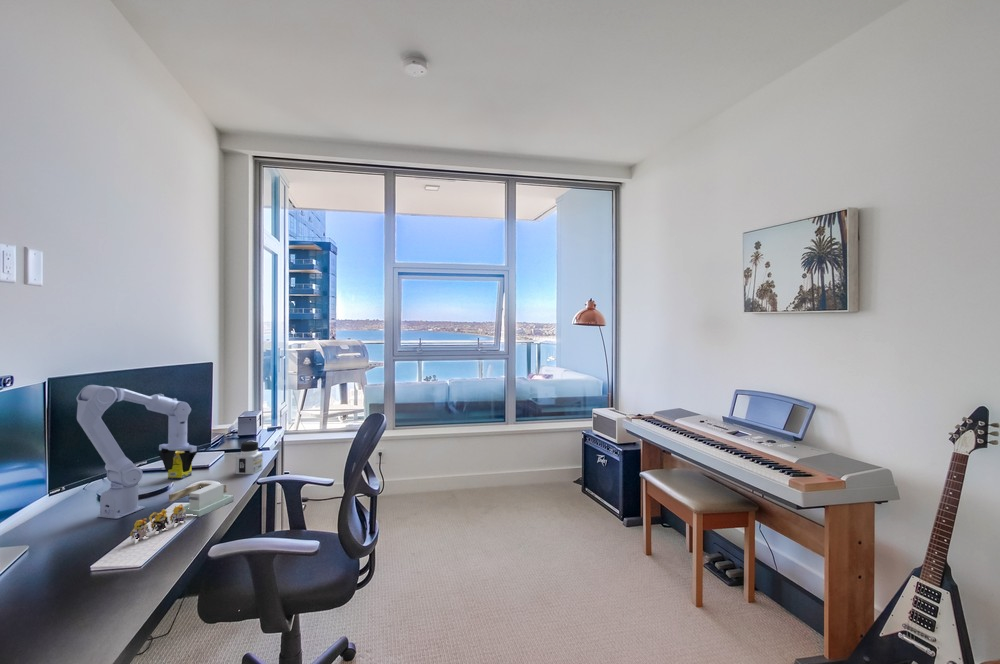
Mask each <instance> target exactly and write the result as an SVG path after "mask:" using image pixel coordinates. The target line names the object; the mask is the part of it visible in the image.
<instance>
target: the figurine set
mask: <svg viewBox="0 0 1000 664" xmlns="http://www.w3.org/2000/svg"><path fill="white" fill-rule="evenodd" d="M182 506H184V504H180V505H177V506H176V505H175V506H174V508H173V509H172V513H171V515H170V516H169V517H168V516H167V510H166V509H165V508H163V509H161V511H160V512H156V511H154V512H152V514H150V515H149V517H148V520H149V522H150V523H151V524H150V528H151V531H150V528H149V524H148V522H147V518H143V519H139V520H136V521H135V523H134V525H133V526H134V527H133V529H132V530H131V531H130V534H129V535H130V540H131V541H132V540H133V539H138V538H139V539H140V538H142V537H144V536H146V537H147V533H148V534H149V533H151V532H154V531H155V532H156V531H159V532H160V531H162V529H164V528H166V529H167V526H168V525H169V526H170V524H175V523H178V524H179V523H180V521H184V522H185V519H186V518H187V519H188V516H186V512H185V511H186V510H185V509H184V508H183V507H182ZM183 509H184V510H183ZM154 515H155V516H154ZM183 515H184V516H183ZM153 516H154V517H153ZM152 517H153V518H152ZM168 518H169V519H170V520H169V521H171V522H169V521H168ZM153 519H154V520H153ZM133 541H134V540H133Z"/></svg>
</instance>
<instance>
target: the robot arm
mask: <svg viewBox="0 0 1000 664" xmlns="http://www.w3.org/2000/svg"><path fill="white" fill-rule="evenodd" d="M121 401H126V402H131V403H135V404H140V405H144V406H145V408H146V410H147V411H151V412H155V413H159V414H162V415H163V414H164V415H166V416H168V420H167V421H168V426H167V427H168V431H167V433H168V437H167V440H168V441H167V443H162V444H159V445H158V451H159V452H157V455H158V457H160V459H161V461H162V463H163V466H164V469H165V471H167V472H168V470H170V469H172V467H173V458H174V454H175V451H185V452H184V453H180V454H179V455H180V457H181V460H182V470H183V472H186V471H189V470H190V466H191V463H192V464H193V460H194V459H195V457H196V455H197V453H198V451H197V449H198V448H197V445H193V444H190V443H189V442H188V419H189V415H190V413H191V412H192V408H191V407H190V404H189V403H188V402H186V401H181V400H178V398H176V397H173V398H172V397H168V396H165V394H164V393H163V394H162V393H157V394H152V395H147V394H142V393H140V392H136V391H133V390H130V389H127V388H121V387H113V386H108V385H106V386H103V385H97V384H89V385H88V384H87V385H86V386H84V387H83V388H82V389H80V391H79V393H78V394H77V396H76V402H77V409H76V420H77V423H78V424H79V426H80V427H81V429H82V430H83V431H84V433H85V434H86V436H87V438H88V440H90V442H91V443H92V445H93V447H94V448H95V450H96V451H97V452H98V454H99V456H100V457H101V459H102V460H103V462H104V463H105V465H104V469H105V471H106V477H107V480H108V481H109V482H110V487H109V489H108V490H105V491H103V492H102V493H101V495H100V497H99V499H100V501H99V514H98V515H97V518H98V517H99V518H107V519H120V518H122V517H125V516H128V515H131V514H133V513H135V512H139V511H141V510H144V509H145V508H146V506H145V505H143V506H142V505H139V483H140V482H141V480H142V478H143V475H144V473H143V469H142V468H140V467H138V466H137V465H135V464H134V463H133V461H132V460H131V459H130V458H129V457H127V456H126V455H125V453H124V452H123V450H122V449H121V446H119V444H118V442H117V441H116V439H115V438H114V436H113V435H112V433H111V431H110V430H109V428H108V426H107V425H106V424H105V422H104V421H103V419H102V417H103V415H104V413H105V411H107V410H108V409H109V408H110V407H111V406H112V405H113V404H114V403H115V402H116V403H118V402H121Z"/></svg>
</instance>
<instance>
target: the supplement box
mask: <svg viewBox="0 0 1000 664" xmlns="http://www.w3.org/2000/svg"><path fill="white" fill-rule="evenodd" d="M184 452H185V451H175V454H174V458H173V467H172V469H170V470H167V473H168V474H167V480H184V479H187V478H188V477H190V476H192V471H193V469H192V466H193V465H192V464H193V462H192V463H191V466H190V470H189V471H186V472H183V470H182V460H181V457H180V455H179V454H180V453H184Z"/></svg>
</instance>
